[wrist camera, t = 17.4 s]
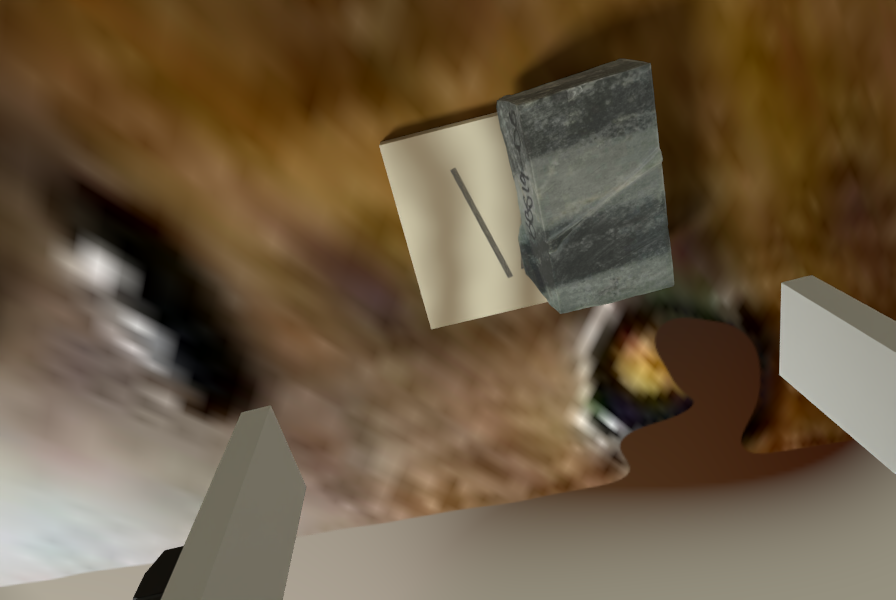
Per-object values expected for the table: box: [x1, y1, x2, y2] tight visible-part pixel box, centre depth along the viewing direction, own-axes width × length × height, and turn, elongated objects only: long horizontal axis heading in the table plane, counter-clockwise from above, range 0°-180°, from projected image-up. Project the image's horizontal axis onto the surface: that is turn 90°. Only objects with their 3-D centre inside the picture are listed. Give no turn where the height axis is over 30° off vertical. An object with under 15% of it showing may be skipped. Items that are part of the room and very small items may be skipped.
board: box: [379, 112, 548, 329], centre depth 40 cm, size 17×14×2 cm
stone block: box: [496, 59, 674, 314], centre depth 36 cm, size 9×14×5 cm, turn 15°
